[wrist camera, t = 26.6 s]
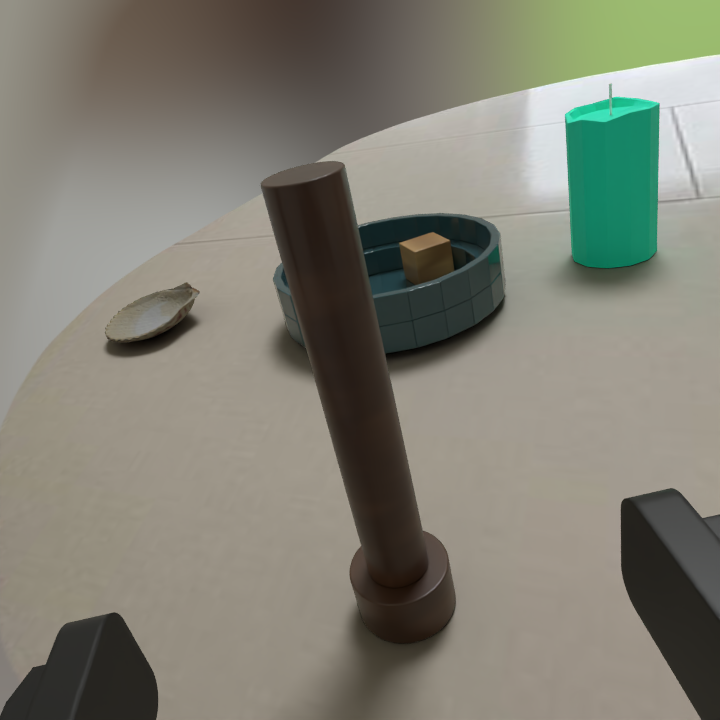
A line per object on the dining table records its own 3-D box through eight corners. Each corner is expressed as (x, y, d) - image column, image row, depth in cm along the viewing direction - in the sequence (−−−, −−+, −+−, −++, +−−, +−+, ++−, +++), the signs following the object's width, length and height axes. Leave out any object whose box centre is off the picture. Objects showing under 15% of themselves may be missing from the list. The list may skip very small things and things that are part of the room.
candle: (578, 239, 51) (571, 83, 45) (659, 236, 48) (662, 68, 43) (564, 269, 47) (555, 99, 41) (653, 267, 44) (656, 84, 38)
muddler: (371, 657, 22) (234, 205, 14) (352, 580, 25) (231, 178, 17) (470, 625, 22) (386, 166, 14) (438, 553, 25) (356, 146, 18)
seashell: (120, 349, 55) (118, 362, 48) (100, 319, 55) (95, 328, 47) (202, 303, 57) (212, 309, 50) (184, 273, 56) (192, 275, 49)
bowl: (312, 390, 39) (294, 325, 36) (275, 303, 53) (260, 252, 51) (549, 314, 41) (545, 249, 39) (452, 250, 55) (445, 200, 53)
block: (420, 289, 47) (414, 251, 46) (404, 278, 50) (398, 242, 48) (455, 277, 48) (450, 240, 47) (438, 266, 51) (433, 231, 49)
